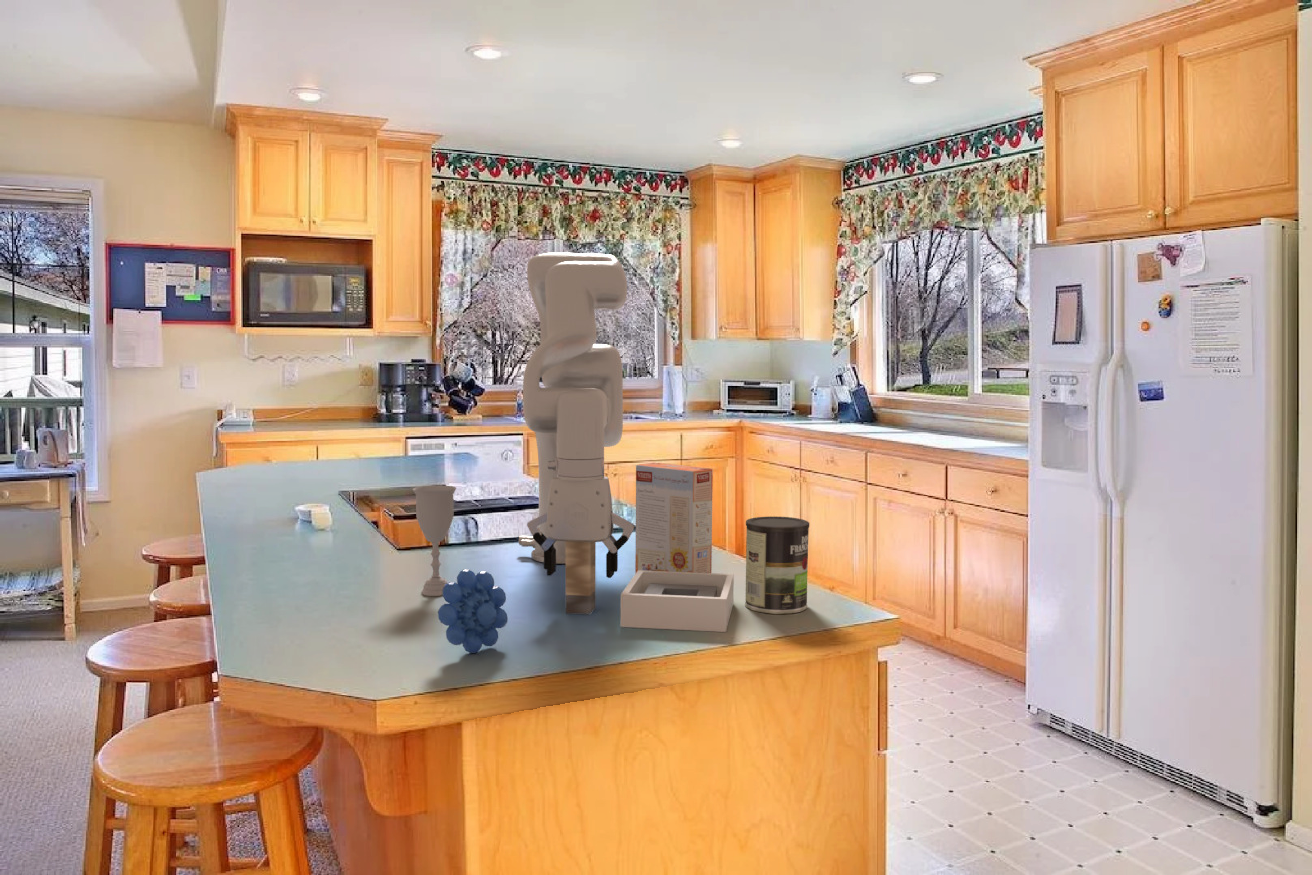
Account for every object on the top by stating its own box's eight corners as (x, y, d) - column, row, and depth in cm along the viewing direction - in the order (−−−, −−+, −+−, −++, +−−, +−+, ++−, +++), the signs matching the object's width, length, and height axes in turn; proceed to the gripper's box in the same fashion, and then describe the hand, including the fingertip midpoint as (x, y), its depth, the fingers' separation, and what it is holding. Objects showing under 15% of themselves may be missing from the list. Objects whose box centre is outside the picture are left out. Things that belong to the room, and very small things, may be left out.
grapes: (460, 670, 129) (459, 580, 128) (428, 659, 133) (427, 572, 132) (526, 649, 138) (526, 565, 136) (495, 639, 142) (494, 558, 141)
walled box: (620, 626, 149) (620, 594, 148) (637, 599, 164) (638, 570, 164) (726, 631, 146) (726, 599, 146) (733, 603, 162) (733, 574, 162)
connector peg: (565, 613, 156) (565, 538, 155) (571, 606, 160) (571, 534, 159) (590, 614, 156) (590, 539, 154) (595, 607, 159) (595, 534, 158)
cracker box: (713, 583, 176) (714, 467, 174) (691, 589, 172) (692, 470, 170) (656, 570, 186) (656, 460, 184) (634, 575, 181) (634, 463, 179)
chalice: (419, 599, 164) (418, 492, 162) (410, 589, 170) (408, 487, 168) (462, 594, 167) (461, 489, 165) (451, 585, 173) (450, 484, 171)
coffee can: (817, 603, 163) (819, 519, 161) (791, 618, 154) (793, 529, 153) (761, 594, 168) (762, 513, 167) (733, 608, 160) (734, 522, 158)
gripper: (521, 470, 153) (521, 578, 155) (630, 473, 151) (629, 582, 152) (534, 464, 160) (534, 567, 162) (638, 467, 158) (637, 571, 159)
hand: (580, 574), depth 157 cm, fingers open, 9 cm apart
